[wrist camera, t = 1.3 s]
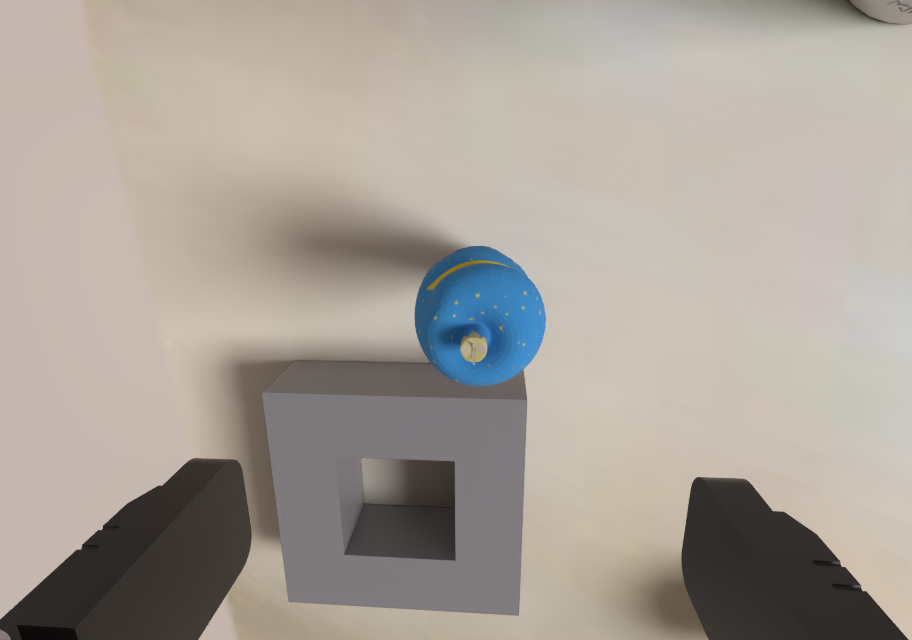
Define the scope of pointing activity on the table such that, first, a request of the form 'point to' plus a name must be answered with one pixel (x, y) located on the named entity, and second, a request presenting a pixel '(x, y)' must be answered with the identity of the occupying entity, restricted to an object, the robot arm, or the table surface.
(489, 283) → the ornament
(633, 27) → the table surface
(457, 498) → the socket block
